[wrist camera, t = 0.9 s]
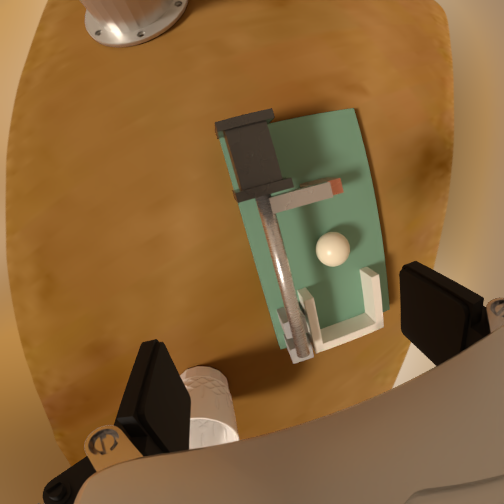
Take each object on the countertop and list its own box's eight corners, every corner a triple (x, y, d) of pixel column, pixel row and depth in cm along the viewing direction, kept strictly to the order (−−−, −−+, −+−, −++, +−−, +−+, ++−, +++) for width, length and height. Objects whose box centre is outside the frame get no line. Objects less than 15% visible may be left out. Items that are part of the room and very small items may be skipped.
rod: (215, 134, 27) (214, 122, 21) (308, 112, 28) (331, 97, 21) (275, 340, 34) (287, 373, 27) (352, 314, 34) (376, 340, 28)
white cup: (243, 375, 36) (253, 431, 27) (216, 412, 37) (218, 466, 28) (188, 352, 34) (182, 407, 25) (164, 392, 36) (155, 446, 26)
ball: (308, 234, 31) (319, 241, 28) (338, 225, 31) (352, 231, 28) (315, 265, 32) (326, 275, 29) (344, 255, 32) (358, 264, 29)
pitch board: (219, 137, 29) (219, 131, 24) (350, 109, 29) (368, 101, 25) (278, 345, 35) (286, 366, 31) (385, 306, 36) (403, 321, 32)
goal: (297, 290, 33) (304, 300, 30) (366, 266, 33) (379, 274, 30) (308, 340, 35) (315, 353, 32) (372, 316, 35) (383, 327, 32)
